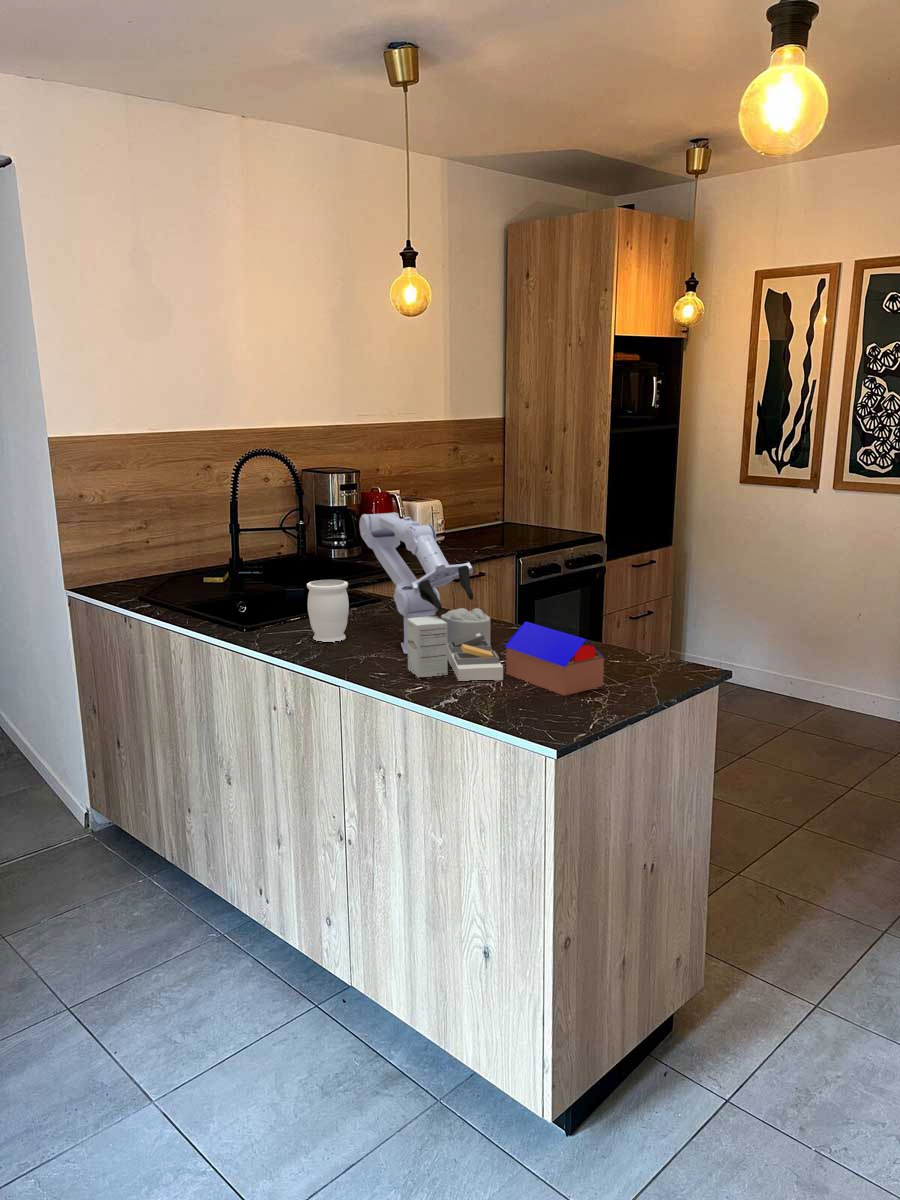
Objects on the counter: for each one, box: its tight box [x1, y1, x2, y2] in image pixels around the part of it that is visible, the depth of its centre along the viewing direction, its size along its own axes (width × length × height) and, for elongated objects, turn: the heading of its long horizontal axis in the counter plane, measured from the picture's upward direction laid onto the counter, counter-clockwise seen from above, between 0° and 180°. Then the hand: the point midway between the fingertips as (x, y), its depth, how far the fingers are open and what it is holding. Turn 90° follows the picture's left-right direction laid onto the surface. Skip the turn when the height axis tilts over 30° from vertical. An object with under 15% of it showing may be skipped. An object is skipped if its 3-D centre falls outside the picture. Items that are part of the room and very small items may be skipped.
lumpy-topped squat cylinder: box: [440, 607, 491, 644], centre depth 233 cm, size 10×13×9 cm
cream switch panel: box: [447, 640, 504, 682], centre depth 213 cm, size 22×10×4 cm, turn 8°
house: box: [504, 621, 606, 697], centre depth 202 cm, size 12×20×12 cm, turn 35°
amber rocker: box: [461, 644, 493, 658], centre depth 208 cm, size 4×7×1 cm, turn 98°
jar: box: [306, 579, 350, 643], centre depth 238 cm, size 11×10×15 cm
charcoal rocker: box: [454, 632, 485, 647], centre depth 217 cm, size 4×7×1 cm, turn 98°
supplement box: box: [407, 615, 449, 679], centre depth 208 cm, size 7×7×13 cm
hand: (456, 602), depth 207 cm, fingers open, 7 cm apart
